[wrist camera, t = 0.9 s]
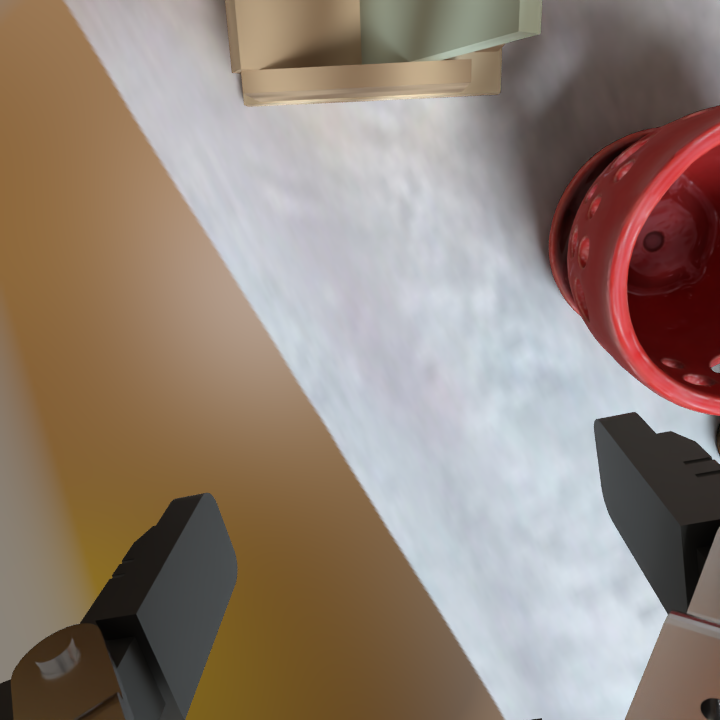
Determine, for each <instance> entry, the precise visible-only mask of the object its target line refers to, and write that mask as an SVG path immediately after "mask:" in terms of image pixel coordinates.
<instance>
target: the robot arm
mask: <svg viewBox="0 0 720 720" xmlns="http://www.w3.org/2000/svg"><path fill="white" fill-rule="evenodd" d="M594 433H595V441H596V449H597V456H598V464H599V472H600V479H601V487H602V493H603V497H604V501H605V504H606V507H607V510H608V513H609V515H610V517H611V519H612V521H613V523H614V525H615V526H616V528H617V530H618V531H619V533H620V535H621V536H622V538H623V540H624V541H625V543H626V545H627V546H628V548H629V550H630V551H631V553H632V555H633V556H634V558H635V560H636V561H637V563H638V565H639V567H640V568H641V570H642V572H643V573H644V575H645V577H646V578H647V580H648V582H649V583H650V585H651V587H652V588H653V590H654V592H655V593H656V595H657V597H658V598H659V600H660V602H661V603H662V605H663V607H664V608H665V610H666V612H667V613H668V616H667V618H666V620H665V622H664V624H663V627H662V629H661V632H660V634H659V637H658V639H657V642H656V644H655V647H654V649H653V651H652V654H651V656H650V659H649V661H648V664H647V666H646V669H645V671H644V674H643V676H642V679H641V681H640V683H639V686H638V688H637V691H636V693H635V696H634V698H633V701H632V703H631V706H630V708H629V710H628V713H627V715H626V718H625V720H720V464H719V463H718V462H716V461H715V460H712V457H711V456H710V455H709V454H708V453H707V452H706V451H705V450H704V449H703V448H702V447H701V446H700V445H699V444H698V443H696V442H695V441H693V440H690V439H688V438H686V437H683V436H681V435H679V434H676V433H674V432H672V431H669V432H664V433H658V434H656V433H655V432H654V431H653V430H652V429H651V428H650V427H649V425H648V424H647V423H646V422H645V421H644V420H643V419H642V418H641V417H640V416H639V415H638V414H637V413H635V412H632V413H627V414H622V415H616V416H611V417H606V418H601V419H596V420H595V422H594ZM112 577H113V578H112V579H109V581H108V582H107V584H106V585H105V587H104V588H103V590H102V591H101V593H100V594H99V596H98V597H97V599H96V600H95V602H94V603H93V605H92V606H91V608H90V609H89V611H88V612H87V614H86V615H85V617H84V618H83V620H82V621H81V622H80V624H76V625H72V626H69V627H66V628H64V629H61V630H59V631H57V632H55V633H53V634H51V635H50V636H48V637H46V638H45V639H43V640H42V641H40V642H39V643H38V644H36V645H35V646H34V647H33V648H32V649H31V650H29V651H28V653H26V654H25V655H24V657H23V658H22V659H21V660H20V661H19V663H18V664H17V666H16V667H15V669H14V671H13V673H12V677H11V680H8V681H5V682H3V683H1V684H0V720H185V718H186V715H187V713H188V710H189V708H190V705H191V702H192V699H193V697H194V694H195V691H196V688H197V686H198V683H199V681H200V678H201V675H202V672H203V670H204V667H205V664H206V662H207V659H208V656H209V654H210V651H211V648H212V645H213V643H214V640H215V637H216V635H217V632H218V629H219V626H220V624H221V621H222V618H223V616H224V613H225V610H226V608H227V605H228V602H229V600H230V597H231V594H232V591H233V589H234V586H235V583H236V579H237V560H236V555H235V551H234V549H233V546H232V543H231V541H230V538H229V535H228V532H227V530H226V527H225V524H224V522H223V519H222V517H221V514H220V511H219V508H218V506H217V503H216V501H215V499H214V497H213V496H212V495H211V494H210V493H203V494H198V495H193V496H188V497H183V498H177V499H174V500H173V501H172V502H171V503H170V505H169V506H168V508H167V509H166V511H165V513H164V514H163V516H162V517H161V519H160V520H159V522H158V523H157V525H156V526H153V527H152V528H150V529H149V530H148V531H147V532H146V533H145V534H144V535H143V536H141V537H140V538H139V539H138V540H137V541H136V542H134V544H133V545H132V547H131V548H130V550H129V551H128V552H127V554H126V556H125V557H124V558H123V560H122V564H120V565H119V566H118V568H117V569H116V570H115V572H114V573H113V575H112ZM533 720H542V718H541V719H533Z"/></svg>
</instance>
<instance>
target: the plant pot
mask: <svg viewBox="0 0 720 720" xmlns="http://www.w3.org/2000/svg"><path fill="white" fill-rule="evenodd" d="M549 259H550V266H551V270H552V274H553V277H554V280H555V282H556V284H557V286H558V288H559V290H560V292H561V294H562V295H563V297H564V298H565V300H566V301H567V303H568V304H569V305H570V306H571V307H572V308H573V310H574V311H576V312H577V313H578V314H579V315H580V316H581V317H582V319H583V320H584V322H585V324H586V325H587V327H588V329H589V330H590V332H591V333H592V334H593V336H594V337H595V339H596V340H597V341H598V342H599V344H600V345H601V346H602V347H603V348H604V349H605V350H606V351H607V352H608V353H609V354H610V355H611V356H612V357H613V358H614V359H615V360H616V361H617V362H618V363H619V364H620V365H621V366H622V367H623V368H624V369H625V370H626V371H628V372H629V373H630V374H631V375H632V376H633V377H635V378H636V379H637V380H638V381H640V382H641V383H642V384H644V385H645V386H646V387H648V388H649V389H650V390H652V391H653V392H655V393H656V394H658V395H659V396H661V397H663V398H665V399H667V400H669V401H671V402H673V403H675V404H677V405H679V406H681V407H684V408H687V409H690V410H693V411H697V412H701V413H705V414H709V415H718V416H720V373H716V372H714V371H712V369H711V368H712V367H713V366H715V365H717V364H720V106H716V107H712V108H707V109H704V110H700V111H698V112H695V113H692V114H689V115H687V116H684V117H682V118H680V119H678V120H675V121H673V122H671V123H668V124H666V125H664V126H662V127H656V128H651V129H646V130H642V131H639V132H636V133H633V134H630V135H627V136H625V137H623V138H621V139H619V140H617V141H615V142H613V143H612V144H610V145H608V146H606V147H605V148H603V149H602V150H601V151H599V152H598V153H597V154H595V155H594V156H593V157H592V158H590V159H589V160H588V161H587V162H586V163H585V164H584V165H583V166H582V167H581V169H580V170H579V171H578V172H577V173H576V175H575V176H574V177H573V179H572V180H571V182H570V183H569V184H568V186H567V188H566V189H565V191H564V193H563V195H562V197H561V199H560V201H559V203H558V205H557V208H556V211H555V214H554V217H553V221H552V225H551V230H550V236H549Z"/></svg>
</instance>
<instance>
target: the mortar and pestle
mask: <svg viewBox="0 0 720 720" xmlns="http://www.w3.org/2000/svg"><path fill="white" fill-rule="evenodd" d="M717 447H718V451H719V454H720V425H719V428H718V432H717Z"/></svg>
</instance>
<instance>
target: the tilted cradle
mask: <svg viewBox="0 0 720 720" xmlns="http://www.w3.org/2000/svg"><path fill="white" fill-rule="evenodd" d="M225 7H226V17H227V27H228V37H229V48H230V58H231V68H232V73H241V78H242V88H243V98H244V105H246V106H248V107H252V106H273V105H293V104H314V103H335V102H356V101H377V100H398V99H418V98H439V97H460V96H481V95H498V94H499V93H501V64H502V47H503V46H504V45H505V44H506V43H508V42H512V41H516V40H520V39H523V38H527V37H531V36H535V35H538V34H541V16H542V0H225Z"/></svg>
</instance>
